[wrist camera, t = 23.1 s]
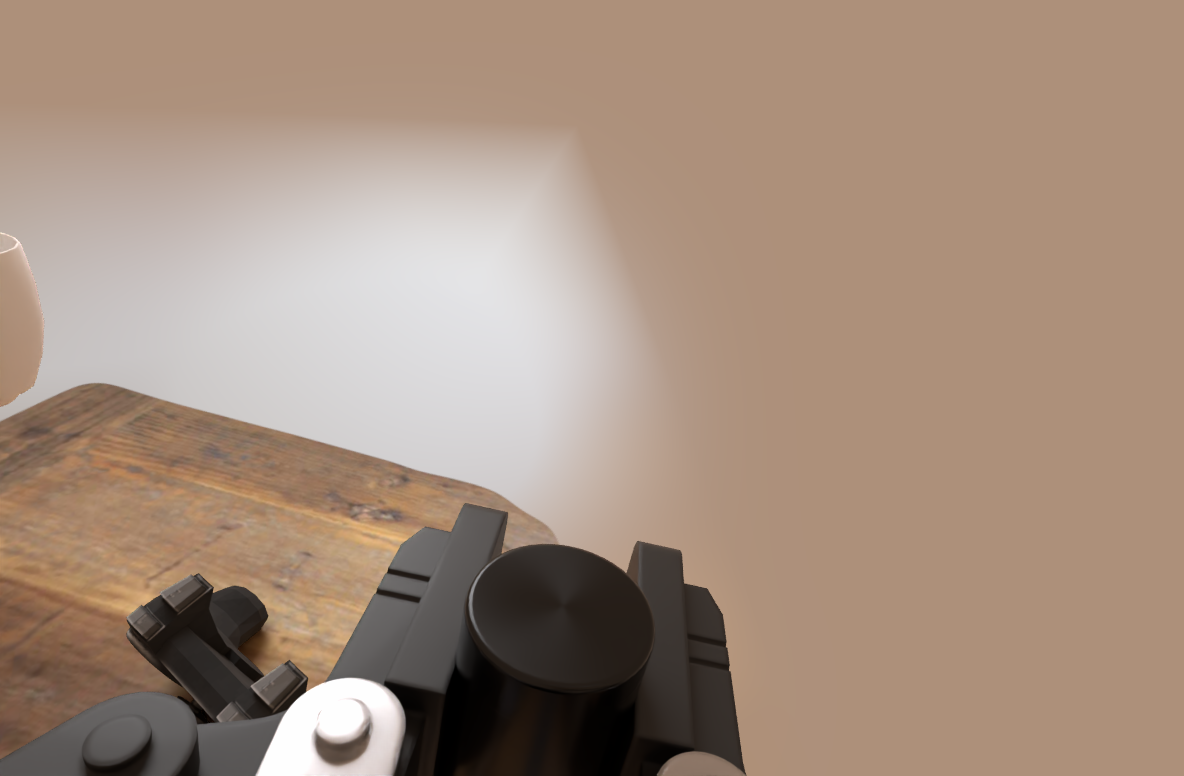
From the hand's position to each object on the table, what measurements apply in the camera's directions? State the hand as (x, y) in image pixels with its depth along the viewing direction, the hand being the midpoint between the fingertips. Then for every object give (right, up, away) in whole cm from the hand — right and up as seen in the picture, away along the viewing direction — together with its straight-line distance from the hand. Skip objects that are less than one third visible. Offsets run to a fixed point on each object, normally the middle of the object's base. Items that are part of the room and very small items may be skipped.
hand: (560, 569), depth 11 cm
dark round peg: (-4, -17, +5) cm, 18 cm away
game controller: (-20, -17, +28) cm, 38 cm away
